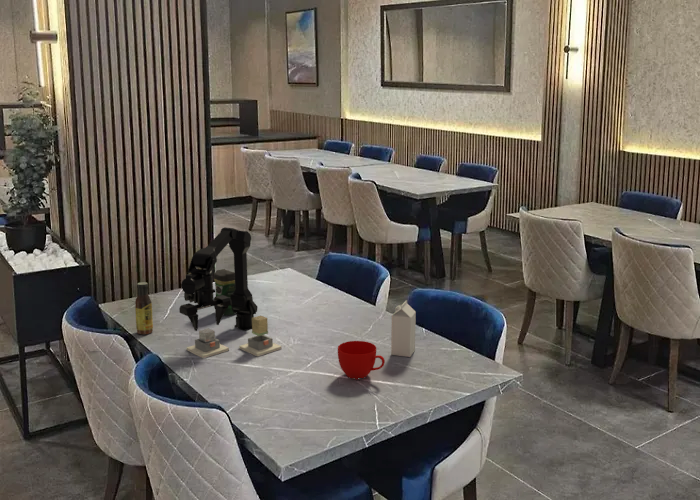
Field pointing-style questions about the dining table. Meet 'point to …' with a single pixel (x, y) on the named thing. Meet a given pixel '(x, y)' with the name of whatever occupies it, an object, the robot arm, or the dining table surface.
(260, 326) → the column
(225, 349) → the stand
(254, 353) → the stand
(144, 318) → the sauce bottle
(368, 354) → the ceramic cup
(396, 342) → the milk carton
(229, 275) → the coffee jar
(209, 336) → the column
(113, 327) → the dining table surface
